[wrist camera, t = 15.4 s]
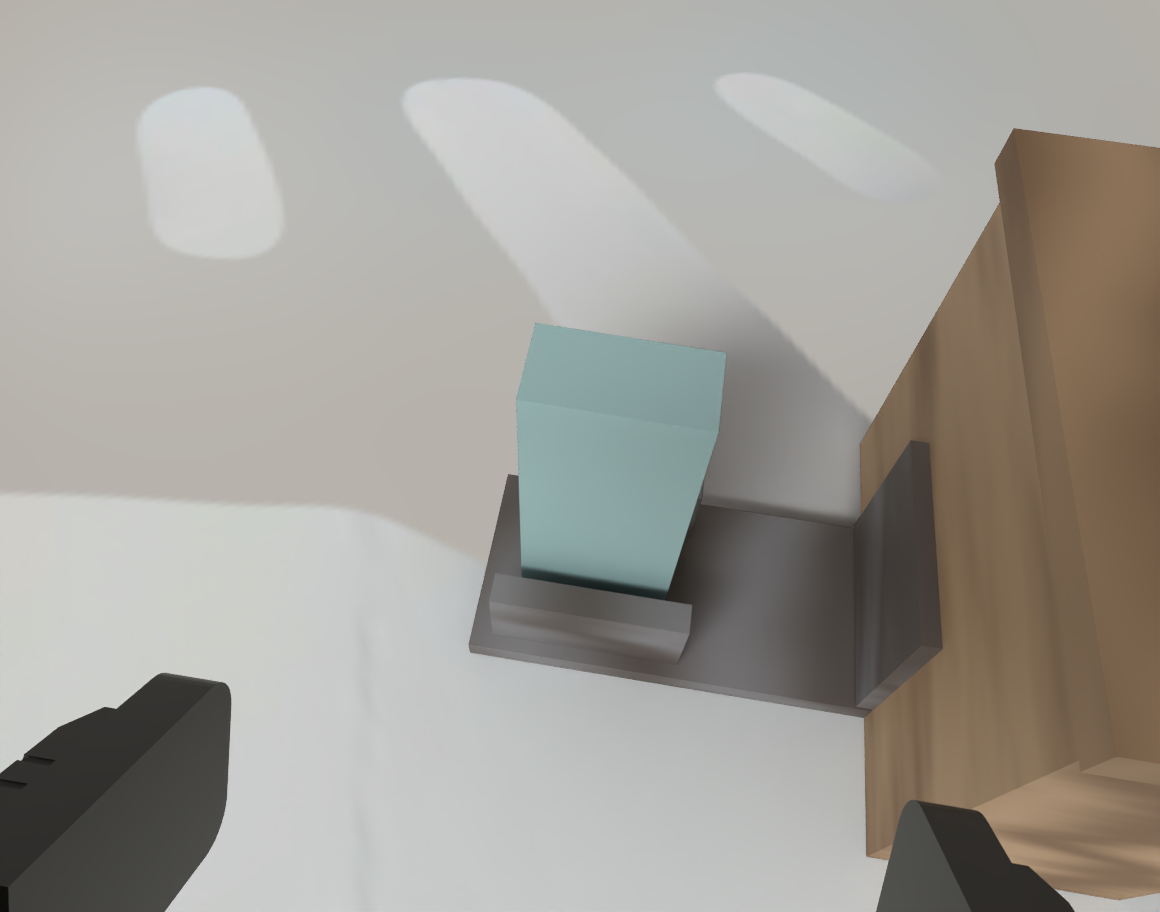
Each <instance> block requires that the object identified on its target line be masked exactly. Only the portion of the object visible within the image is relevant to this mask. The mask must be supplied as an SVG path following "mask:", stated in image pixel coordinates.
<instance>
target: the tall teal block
mask: <svg viewBox="0 0 1160 912" xmlns="http://www.w3.org/2000/svg"><path fill="white" fill-rule="evenodd" d="M725 363H726V353H725V352H718V351H712V350H706V349H699V348H693V347H686V346H680V345H674V344H667V343H661V342H655V341H648V340H642V339H635V338H629V337H623V336H616V335H610V334H604V333H597V332H591V331H585V330H578V329H572V328H565V327H559V326H553V325H546V324H540V323H535V327H534V331H533V335H532V339H531V343H530V347H529V351H528V355H527V359H526V363H525V367H524V371H523V375H522V379H521V383H520V386H519V391H518V395H517V398H516V411H517V440H518V441H517V442H518V472H519V473H518V474H519V505H520V537H521V569H522V578H528V579H535V580H541V581H547V582H553V583H559V584H565V585H572V586H578V587H584V588H590V589H596V590H603V591H609V592H615V593H621V594H627V595H633V596H640V597H646V598H652V599H658V600H664V601H665V599H666V595H667V592H668V589H669V586H670V583H671V580H672V577H673V574H674V570H675V567H676V564H677V561H678V558H679V555H680V552H681V549H682V545H683V542H684V539H685V536H686V533H687V530H688V527H689V523H690V520H691V517H692V514H693V511H694V508H695V505H696V502H697V498H698V495H699V492H700V489H701V486H702V483H703V480H704V477H705V473H706V470H707V467H708V464H709V461H710V458H711V455H712V451H713V448H714V445H715V442H716V439H717V436H718V433H719V423H720V413H721V403H722V393H723V383H724V373H725Z"/></svg>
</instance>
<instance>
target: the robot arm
mask: <svg viewBox="0 0 1160 912" xmlns="http://www.w3.org/2000/svg"><path fill="white" fill-rule="evenodd" d="M230 721H231V693H230V689H229V687H228V686H227V685H226V684H225V683H223V682H217V681H211V680H205V679H199V678H193V677H187V676H181V675H175V674H169V673H161V674H158V675H157V676H155V677H154V678H153V679H151V680H150V681H149V682H148V683H147V684H145V685H144V686H143V687H142V688H141V689H140V690H138V691H137V692H136V693H135V694H134V695H132V696H131V697H130V698H129V699H128V700H127V701H125V702H124V703H123V704H122V705H121V706H119V707H118V708H117V709H114V708H108V707H104V708H101V709H99V710H97V711H95V712H92V713H90V714H88V715H85V716H83V717H81V718H79V719H76V720H74V721H72V722H69V723H67V724H65V725H63V726H60V727H58V728H57V729H56V730H54V731H53V732H52V733H51V734H49V735H48V736H47V737H46V738H44V739H43V740H42V741H41V742H39V743H38V744H37V745H36V746H34V747H33V748H32V749H30V750H29V751H28V752H27V753H25V754H24V757H23V759H22V761H19V760H17V761H15V762H14V763H13V764H12V765H10V766H9V767H8V768H7V769H5V770H4V771H3V772H1V773H0V912H165V910H166V909H167V908H168V906H169V905H170V904H171V902H172V901H173V900H174V898H175V897H176V895H177V894H178V893H179V891H180V890H181V889H182V887H183V886H184V885H185V883H186V882H187V881H188V879H189V878H190V877H191V875H192V874H193V873H194V871H195V870H196V869H197V867H198V866H199V865H200V863H201V862H202V861H203V859H204V858H205V857H206V855H207V854H208V852H209V850H210V849H211V847H212V845H213V843H214V841H215V839H216V837H217V834H218V832H219V829H220V826H221V823H222V819H223V816H224V812H225V807H226V800H227V784H228V763H229V742H230ZM876 912H1074V910H1073V908H1072V907H1071V905H1070V904H1069V902H1068V901H1066V900H1065V899H1064V898H1063V897H1062V896H1061V895H1060V894H1059V893H1058V892H1057V891H1055V890H1054V889H1053V888H1052V887H1051V886H1050V885H1049V884H1048V883H1047V882H1046V881H1044V880H1043V879H1042V878H1041V877H1040V876H1039V875H1038V874H1037V873H1036V872H1035V871H1033V870H1032V869H1031V868H1030V867H1029V866H1026V865H1020V864H1015V863H1012V862H1011V861H1010V859H1009V857H1008V856H1007V854H1006V852H1005V850H1004V849H1003V847H1002V845H1001V844H1000V842H999V840H998V838H997V837H996V835H995V833H994V832H993V830H992V828H991V826H990V825H989V823H988V821H987V820H986V818H985V817H984V815H983V814H982V813H981V812H979V811H977V810H972V809H966V808H960V807H954V806H948V805H942V804H936V803H930V802H924V801H918V800H910V801H908V802H907V803H906V804H905V806H904V808H903V810H902V812H901V815H900V819H899V822H898V826H897V830H896V834H895V838H894V842H893V846H892V850H891V854H890V858H889V862H888V866H887V870H886V874H885V878H884V882H883V886H882V890H881V894H880V898H879V902H878V906H877V911H876Z"/></svg>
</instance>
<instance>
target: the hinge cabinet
mask: <svg viewBox="0 0 1160 912" xmlns="http://www.w3.org/2000/svg"><path fill="white" fill-rule="evenodd" d="M995 170H996V177H997V184H998V191H999V198H1000V203H999V205H998V206H997V208H996V210H995V212H994V213H993V215H992V217H991V219H990V220H989V222H988V224H987V226H986V227H985V229H984V231H983V232H982V234H981V236H980V238H979V239H978V241H977V243H976V245H975V246H974V248H973V250H972V251H971V253H970V255H969V257H968V258H967V260H966V262H965V264H964V265H963V267H962V269H961V271H960V272H959V274H958V276H957V278H956V279H955V281H954V283H953V284H952V286H951V288H950V289H949V291H948V293H947V295H946V296H945V298H944V300H943V302H942V303H941V305H940V307H939V309H938V310H937V312H936V314H935V315H934V317H933V319H932V321H931V322H930V324H929V326H928V328H927V329H926V331H925V333H924V335H923V336H922V338H921V340H920V342H919V343H918V345H917V347H916V348H915V350H914V352H913V354H912V355H911V357H910V359H909V360H908V362H907V364H906V366H905V367H904V369H903V371H902V373H901V374H900V376H899V378H898V380H897V381H896V383H895V385H894V386H893V388H892V390H891V392H890V393H889V395H888V397H887V399H886V400H885V402H884V404H883V406H882V407H881V409H880V411H879V413H878V414H877V416H876V418H875V419H874V421H873V423H872V424H871V426H870V428H869V430H868V431H867V433H866V435H865V437H864V438H863V440H862V442H861V443H860V476H861V516H860V517H859V519H858V520H857V522H856V523H855V525H854V528H848V527H842V526H836V525H829V524H823V523H816V522H810V521H804V520H797V519H791V518H784V517H778V516H772V515H765V514H759V513H753V512H746V511H740V510H733V509H727V508H721V507H714V506H708V505H701V501H702V495H703V484H704V480H703V483H702V486H701V489H700V492H699V495H698V498H697V502H696V505H695V508H694V511H693V514H692V517H691V520H690V523H689V527H688V530H687V533H686V536H685V539H684V542H683V545H682V549H681V552H680V555H679V558H678V561H677V564H676V567H675V570H674V574H673V577H672V580H671V583H670V586H669V589H668V592H667V595H666V599H665V601H664V600H658V599H652V598H646V597H640V596H633V595H627V594H621V593H615V592H609V591H603V590H596V589H590V588H584V587H578V586H572V585H565V584H559V583H553V582H547V581H541V580H535V579H528V578H522V569H521V537H520V505H519V476H516V475H509V474H508V477H507V481H506V486H505V490H504V494H503V499H502V503H501V507H500V512H499V516H498V521H497V525H496V530H495V533H494V537H493V542H492V547H491V551H490V555H489V559H488V563H487V568H486V572H485V576H484V581H483V585H482V589H481V594H480V598H479V602H478V606H477V611H476V615H475V619H474V624H473V628H472V632H471V637H470V641H469V649H470V652H471V653H477V654H483V655H489V656H495V657H501V658H507V659H513V660H519V661H525V662H531V663H537V664H543V665H549V666H555V667H561V668H567V669H574V670H580V671H586V672H592V673H598V674H604V675H610V676H616V677H622V678H628V679H634V680H640V681H646V682H652V683H658V684H664V685H670V686H676V687H682V688H688V689H694V690H700V691H706V692H712V693H718V694H724V695H730V696H736V697H742V698H748V699H754V700H760V701H766V702H772V703H778V704H784V705H790V706H796V707H802V708H808V709H814V710H820V711H826V712H833V713H839V714H845V715H851V716H857V717H863V718H864V729H865V792H866V855H867V857H872V858H878V859H884V860H889V858H890V854H891V850H892V846H893V842H894V838H895V834H896V830H897V826H898V822H899V819H900V815H901V812H902V810H903V808H904V806H905V804H906V803H907V802H908V801H910V800H918V801H924V802H930V803H936V804H942V805H948V806H954V807H960V808H966V809H972V810H977V811H979V812H981V813H982V814H983V815H984V817H985V818H986V820H987V821H988V823H989V825H990V826H991V828H992V830H993V832H994V833H995V835H996V837H997V838H998V840H999V842H1000V844H1001V845H1002V847H1003V849H1004V850H1005V852H1006V854H1007V856H1008V857H1009V859H1010V861H1011V862H1012V863H1015V864H1020V865H1026V866H1029V867H1030V868H1031V869H1032V870H1033V871H1035V872H1036V873H1037V874H1038V875H1039V876H1040V877H1041V878H1042V879H1043V880H1044V881H1046V882H1047V883H1048V884H1049V885H1050V886H1051V887H1052V888H1053V889H1057V890H1063V891H1069V892H1075V893H1080V894H1086V895H1092V896H1098V897H1104V898H1109V899H1115V900H1122V899H1128V898H1133V897H1139V896H1144V895H1150V894H1155V893H1160V148H1156V147H1148V146H1141V145H1133V144H1126V143H1118V142H1111V141H1104V140H1096V139H1089V138H1081V137H1074V136H1067V135H1059V134H1052V133H1044V132H1037V131H1030V130H1022V129H1015V128H1014V129H1013V131H1012V133H1011V134H1010V136H1009V138H1008V140H1007V142H1006V144H1005V146H1004V147H1003V149H1002V151H1001V153H1000V155H999V156H998V158H997V160H996V162H995Z"/></svg>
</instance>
